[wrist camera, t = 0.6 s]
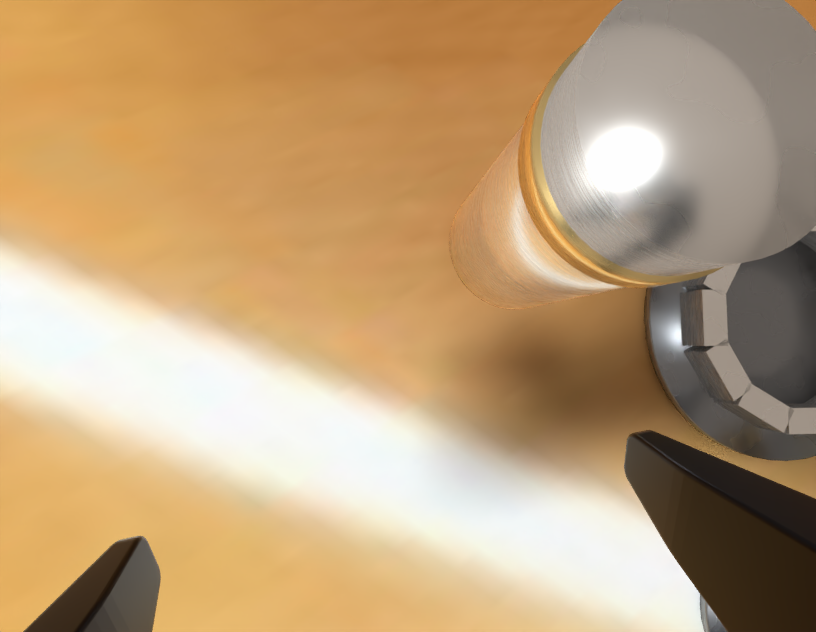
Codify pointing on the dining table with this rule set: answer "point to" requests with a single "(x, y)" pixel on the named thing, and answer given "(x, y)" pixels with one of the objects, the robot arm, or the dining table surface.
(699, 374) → the collar
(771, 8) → the cylinder
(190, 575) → the dining table surface
